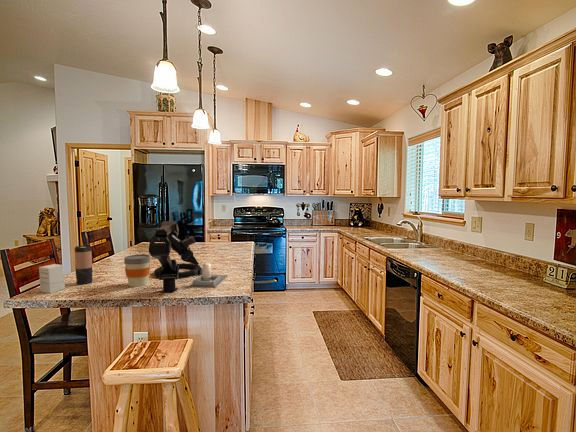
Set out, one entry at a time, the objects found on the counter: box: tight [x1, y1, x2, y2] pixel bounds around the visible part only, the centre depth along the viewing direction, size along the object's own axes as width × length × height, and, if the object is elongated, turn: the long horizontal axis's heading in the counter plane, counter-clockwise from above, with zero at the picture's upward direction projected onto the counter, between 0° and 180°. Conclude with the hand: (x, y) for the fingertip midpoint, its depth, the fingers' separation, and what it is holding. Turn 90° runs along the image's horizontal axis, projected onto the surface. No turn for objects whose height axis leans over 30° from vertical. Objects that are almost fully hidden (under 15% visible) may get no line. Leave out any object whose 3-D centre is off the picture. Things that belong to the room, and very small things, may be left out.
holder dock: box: [189, 274, 228, 288], centre depth 175 cm, size 22×14×3 cm, turn 174°
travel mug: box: [74, 244, 93, 286], centre depth 169 cm, size 8×8×20 cm
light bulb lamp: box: [201, 262, 213, 281], centre depth 170 cm, size 6×6×10 cm
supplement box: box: [38, 263, 66, 294], centre depth 156 cm, size 7×7×13 cm
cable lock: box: [153, 262, 203, 279], centre depth 192 cm, size 28×4×30 cm
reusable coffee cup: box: [123, 254, 151, 288], centre depth 168 cm, size 12×13×15 cm
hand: (196, 262), depth 167 cm, fingers open, 9 cm apart
